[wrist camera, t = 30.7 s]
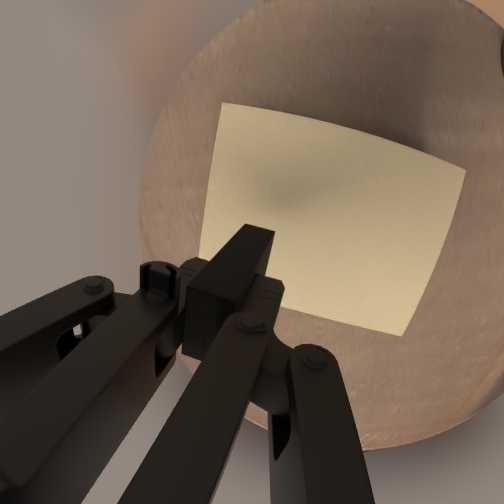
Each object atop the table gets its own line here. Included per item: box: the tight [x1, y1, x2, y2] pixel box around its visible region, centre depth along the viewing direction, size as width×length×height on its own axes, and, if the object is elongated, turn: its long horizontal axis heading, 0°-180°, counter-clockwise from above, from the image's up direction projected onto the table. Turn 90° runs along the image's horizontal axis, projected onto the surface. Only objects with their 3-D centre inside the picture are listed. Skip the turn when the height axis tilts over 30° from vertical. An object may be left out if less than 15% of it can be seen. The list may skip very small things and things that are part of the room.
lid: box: [198, 103, 466, 336], centre depth 22 cm, size 18×15×1 cm
